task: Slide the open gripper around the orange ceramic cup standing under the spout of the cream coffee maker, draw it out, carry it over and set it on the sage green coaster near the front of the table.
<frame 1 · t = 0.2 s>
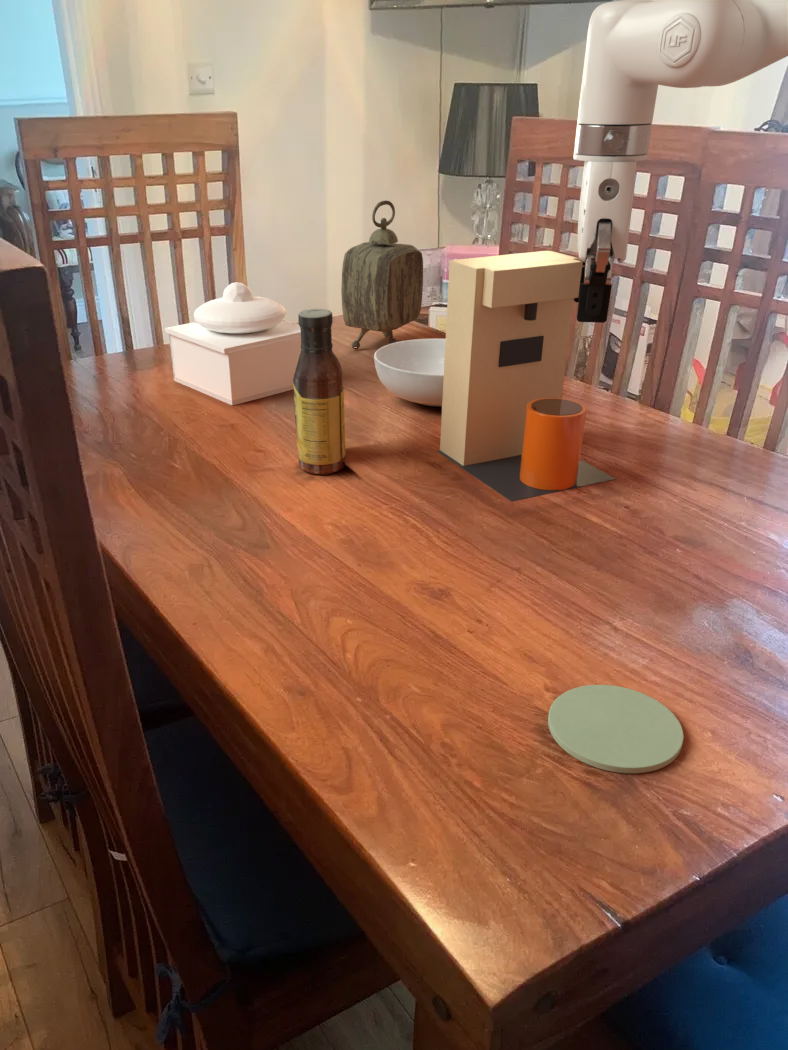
hand: (589, 311, 99), 20 cm above the table, tool pointing down, fingers open, 9 cm apart
orange cup: (547, 479, 104), point 1 cm above the table, touching coffee maker
coaster: (613, 729, 67), on the table
tabletop clock: (383, 346, 163), on the table
sauce bottle: (321, 469, 112), on the table
coffee maker: (516, 471, 110), on the table
white lidded box: (244, 383, 145), on the table
serving bowl: (440, 399, 136), on the table
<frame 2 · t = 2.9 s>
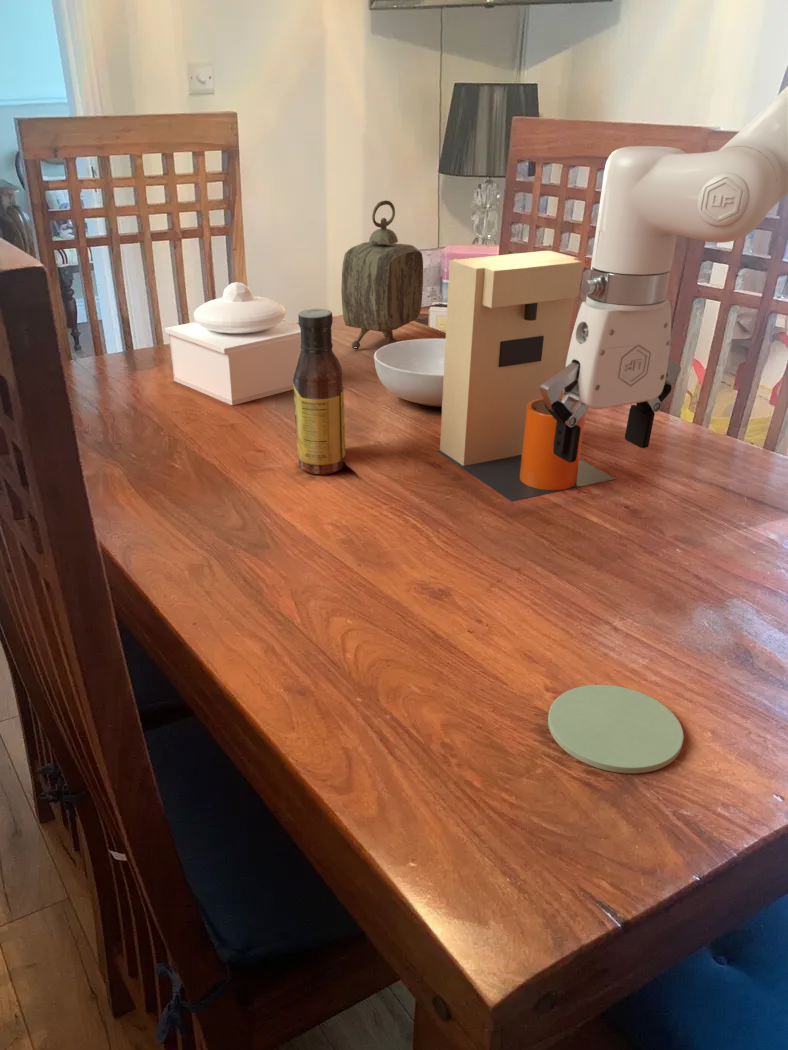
hand: (600, 450, 94), 8 cm above the table, tool pointing down, fingers open, 9 cm apart
nothing on the table moved.
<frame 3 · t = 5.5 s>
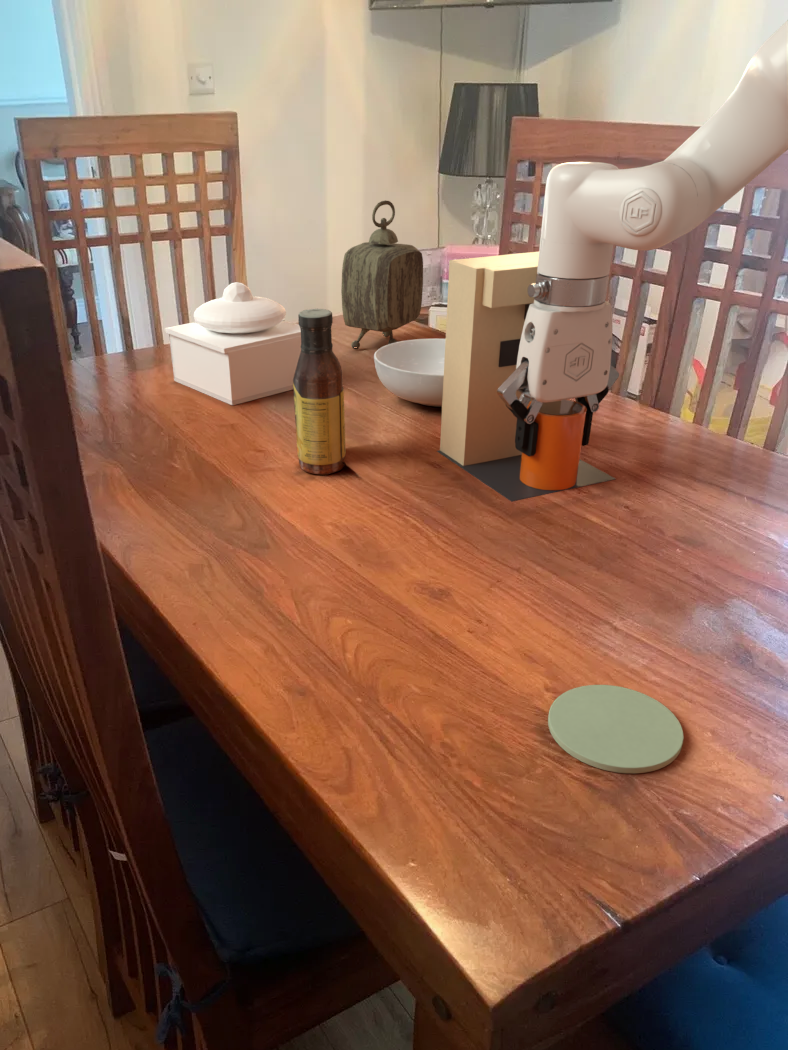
hand: (551, 445, 102), 6 cm above the table, tool pointing down, fingers closed on orange cup, 6 cm apart
orange cup: (547, 479, 104), point 2 cm above the table, touching coffee maker, gripper
everything else where it was.
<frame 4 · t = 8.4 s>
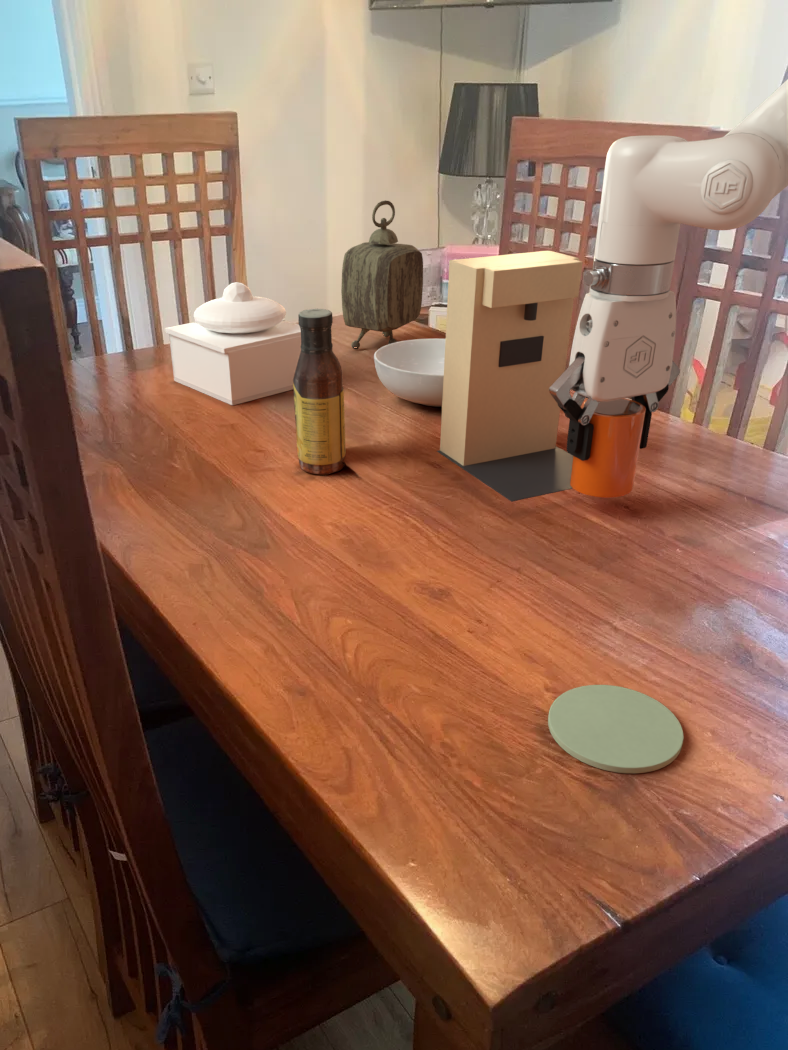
hand: (606, 449, 94), 8 cm above the table, tool pointing down, fingers closed on orange cup, 6 cm apart
orange cup: (601, 485, 96), point 4 cm above the table, touching gripper
everything else where it was.
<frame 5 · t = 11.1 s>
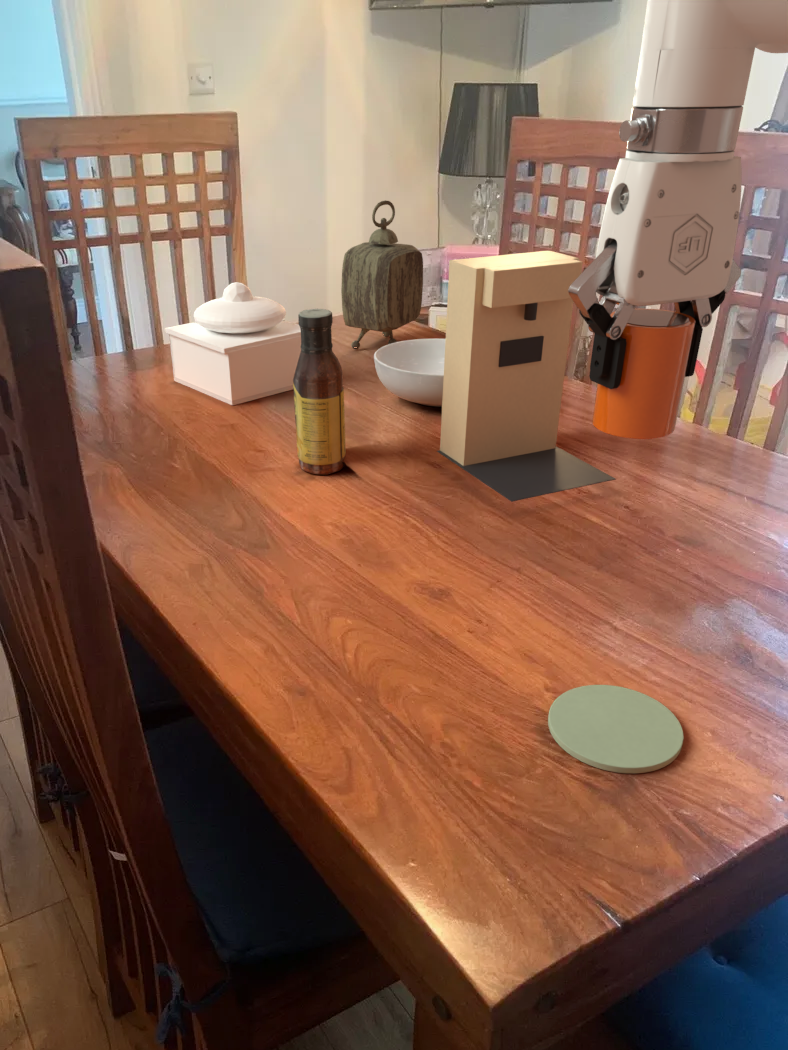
hand: (641, 376, 72), 22 cm above the table, tool pointing down, fingers closed on orange cup, 6 cm apart
orange cup: (632, 425, 74), point 18 cm above the table, touching gripper
everything else where it was.
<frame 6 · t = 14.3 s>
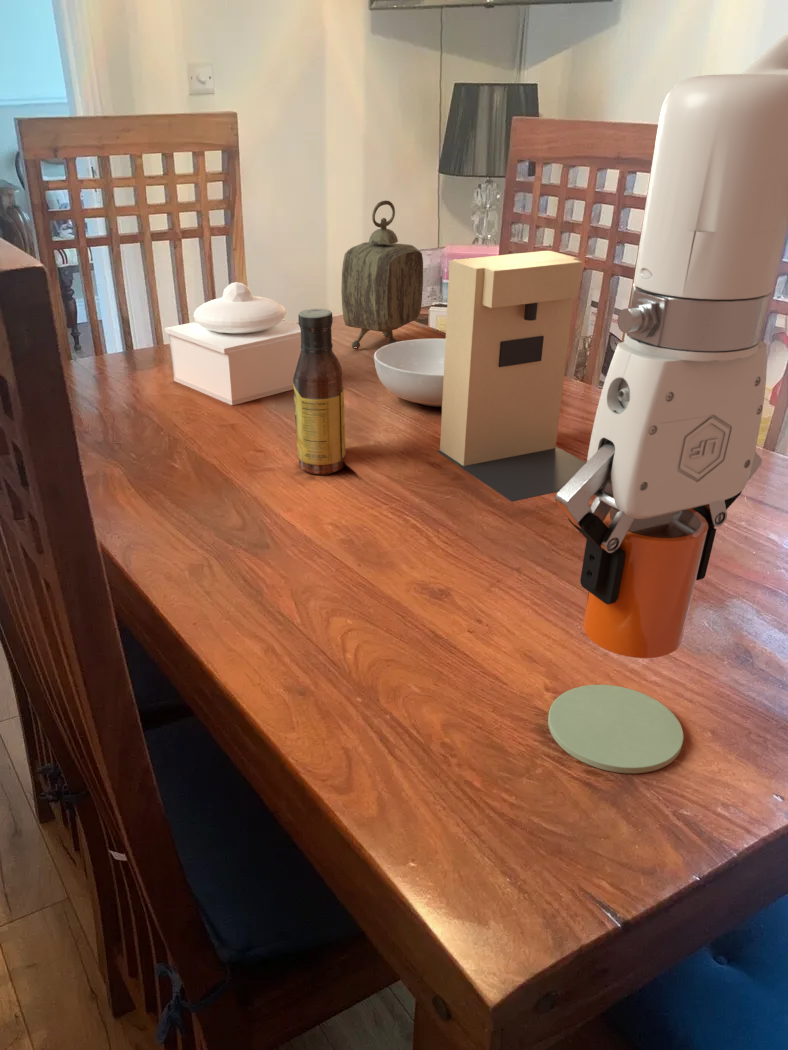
hand: (642, 580, 60), 13 cm above the table, tool pointing down, fingers closed on orange cup, 6 cm apart
orange cup: (631, 631, 62), point 9 cm above the table, touching gripper
everything else where it was.
when the fingers open (5 cm above the table, at t = 16.8 s): orange cup stays where it is, resting on coaster.
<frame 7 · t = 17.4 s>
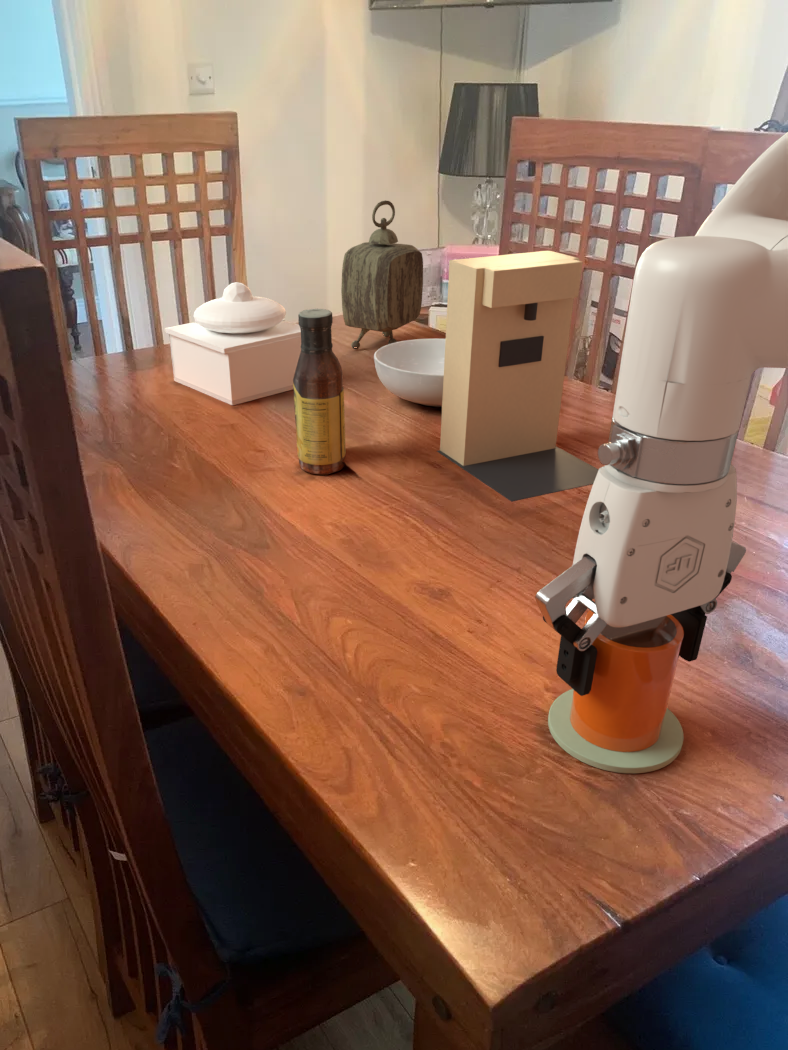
hand: (626, 667, 64), 6 cm above the table, tool pointing down, fingers open, 9 cm apart
orange cup: (614, 722, 66), point 1 cm above the table, touching coaster
everything else where it was.
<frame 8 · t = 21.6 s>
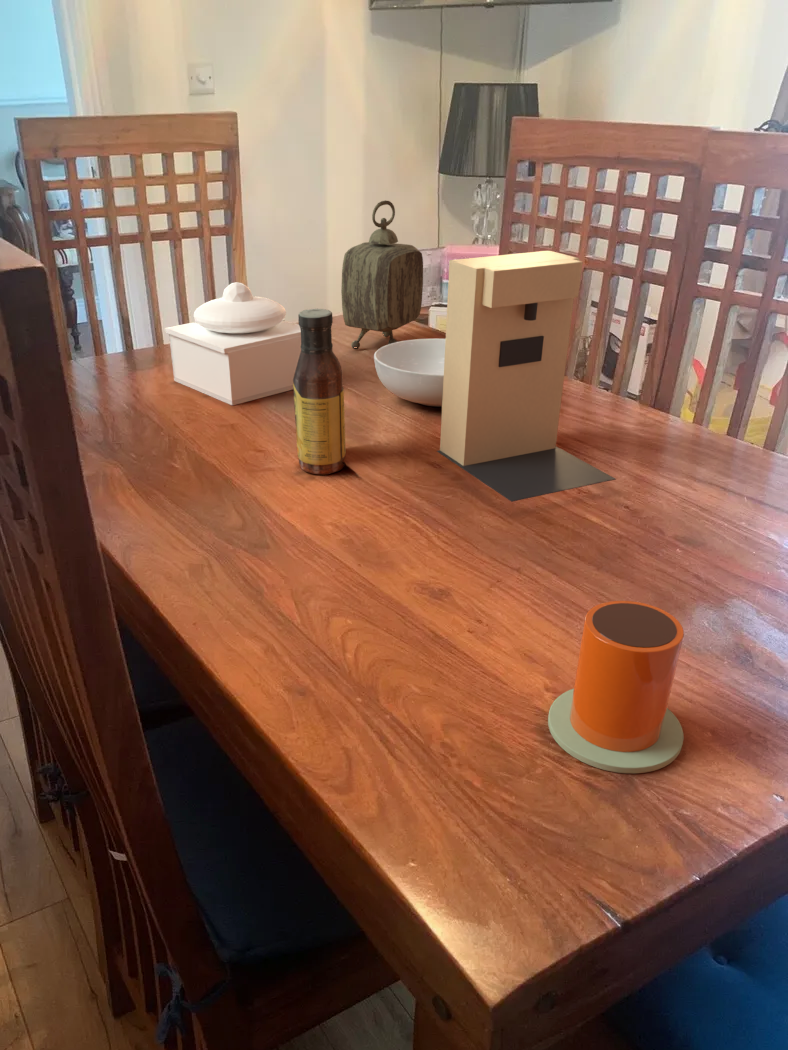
nothing on the table moved.
at the end: orange cup 0.0 cm off-centre on the coaster, point 0.6 cm above the coaster's base; orange cup tilted 0°; orange cup touching coaster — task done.
